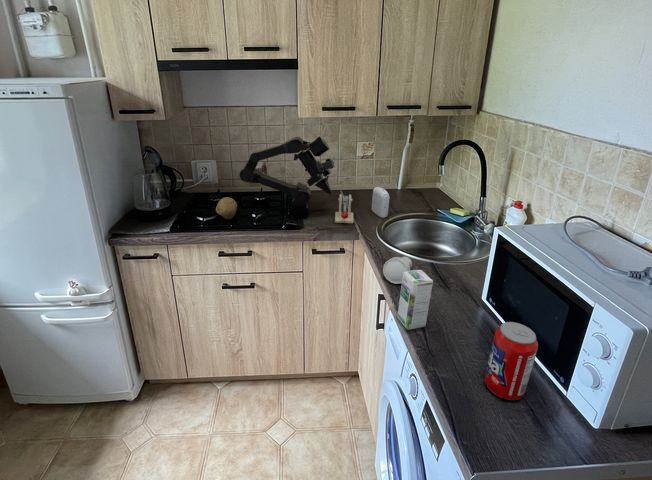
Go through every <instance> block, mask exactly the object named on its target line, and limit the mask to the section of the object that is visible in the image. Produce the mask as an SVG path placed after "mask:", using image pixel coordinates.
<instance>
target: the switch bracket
mask: <svg viewBox="0 0 652 480" xmlns="http://www.w3.org/2000/svg"><path fill="white" fill-rule="evenodd" d="M337 198H338V200H337V202H338V211H335V214H334V223H342V224H354V212H351V211H352V210H351V209H352V202H353V198H352V194H348V204H347V211H346V212H347V213H348V217H347V218H346V219H343V218H342V217H341V213H342V212H343V211H342V205H343V194H342V193H340V194H339V197H337Z"/></svg>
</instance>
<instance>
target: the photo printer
mask: <svg viewBox="0 0 652 480" xmlns="http://www.w3.org/2000/svg"><path fill="white" fill-rule="evenodd" d="M389 206H390V194H389V193H388V191H387V190H386V189H385V188H383V187H381V186H376V187H374V188H373V189H372V199H371V211H372V212H373V213H374V214H375V215H376V216H377V217H379V218H383V219H384V218H387V217H388V215H389Z"/></svg>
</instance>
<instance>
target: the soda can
mask: <svg viewBox="0 0 652 480" xmlns="http://www.w3.org/2000/svg"><path fill="white" fill-rule="evenodd" d="M538 349H539V342H538V340H537V335H536V333H535V332H534V330H532V329H531V328H530V327H529V326H527V325H525V324H521V323H519V322H515V321H505V322H503V323H502V324H501V325H500V326H499V327H497V328H496V329H495V331H494V336H493V340H492V344H491V349H490V353H489V356H488V362H487V364H486V365H487V366H486V370H485V373H484V384H485V386H486V387H487V389H488V390H489V391H490V392H492V394H494V395H495V396H497V397H499V398H501V399H504V400H507V401H518V400H521V399H523V398H524V396H525V394H526V391H527V387H528V384H529V381H530V377H531V373H532V370H533V367H534V363H535V360H536V356H537V353H538Z"/></svg>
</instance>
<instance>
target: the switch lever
mask: <svg viewBox="0 0 652 480" xmlns="http://www.w3.org/2000/svg"><path fill="white" fill-rule="evenodd" d="M348 201H349V195H342V205H343V211H341V212H342V213H341V217H342V218H343V219H346V218H347V217H348V213H347V212H348V211H347V205H348Z"/></svg>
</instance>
